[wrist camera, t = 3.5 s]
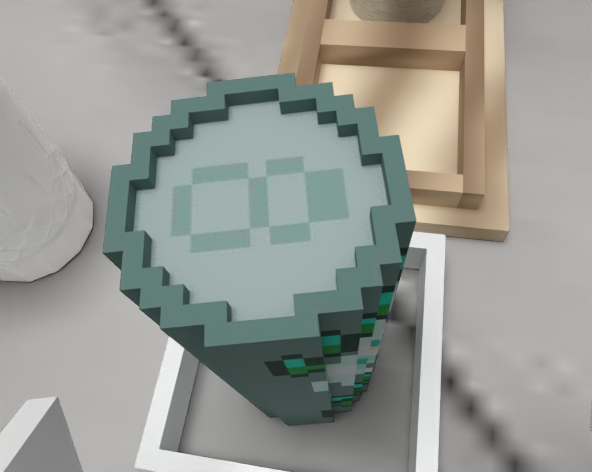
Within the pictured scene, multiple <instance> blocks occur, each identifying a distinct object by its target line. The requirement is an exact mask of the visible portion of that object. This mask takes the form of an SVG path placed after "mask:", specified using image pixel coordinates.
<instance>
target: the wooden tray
mask: <svg viewBox="0 0 592 472" xmlns="http://www.w3.org/2000/svg"><path fill="white" fill-rule="evenodd" d="M286 73H295V78H296V86H301V85H310V84H319V83H327V82H332V83H333V90H334V96H338V95H347V94H353V98H354V105H355V108H363V107H372V106H374V109H375V115H376V120H377V126H378V132H379V137H382V136H391V135H399V137H400V142H401V147H402V152H403V157H404V162H405V167H406V172H407V177H408V182H409V186H410V191H411V196H412V201H413V206H414V211H415V216H416V224H415V228H414V231H413V232H423V233H433V234H443V235H445V236H451V237H461V238H471V239H481V240H491V241H501V242H502V241H503V240H504V238H505V237H506V235H507V234H508V232H509V199H508V162H507V126H506V89H505V52H504V16H503V0H445V1H444V4H443V7H442V9H441V11H440V12H439V13H438V15H436V16H435V17H434V18H433V19H432V20H430V21H429V22H427V23H406V22H382V21H362V20H361V19H359V18H358V17H357V16H356V15H355V14H354V12H353V11H352V9H351V7H350V4H349V0H294V2H293V7H292V11H291V16H290V20H289V24H288V29H287V33H286V38H285V42H284V47H283V51H282V56H281V60H280V64H279V69H278V73H277V74H286Z"/></svg>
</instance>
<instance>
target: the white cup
mask: <svg viewBox="0 0 592 472" xmlns="http://www.w3.org/2000/svg"><path fill="white" fill-rule="evenodd" d="M92 227H93V202H92V200H91V199H90V197H89V195H88V193H87V192H86V190H85V188H84V187H83V185H82V184H81V182H80V181H79V180H78V178H77V177H76V176H75V175H74V174H73V172H72V171H71V170H70V166H69V164H68V163H67V161H66V160H65V159H64V157H63V156H62V155H61V153H60V152H59V151H58V149H57V147H56V146H55V145H54V143H53V142H52V141H51V139H50V138H49V136H48V135H47V134H46V133H45V131H44V130H43V129H42V127H41V126H40V125H39V123H38V122H37V121H36V120H35V118H34V117H33V116H32V114H31V113H30V112H29V111H28V109H27V108H26V107H25V105H24V104H23V103H22V102H21V100H20V99H19V98H18V96H17V95H16V94H15V93H14V91H13V90H12V89H11V87H10V86H9V85H8V84H7V82H6V81H5V80H4V78H3V77H2V76H1V74H0V280H3V281H25V282H31V281H33V280H36V279H39V278H41V277H44V276H46V275H49V274H51V273H54V272H57V271H58V270H60V269H61V268H62V267H63V266H64V265H65V264H66V263H67V262H69V261H70V260H71V259H72V258H73V257H74V256H75V255H76V254H78V253H79V252H80V251H81V249H82V247H83V245H84V243H85V241H86V239H87V237H88V235H89V233H90V231H91V229H92Z"/></svg>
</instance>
